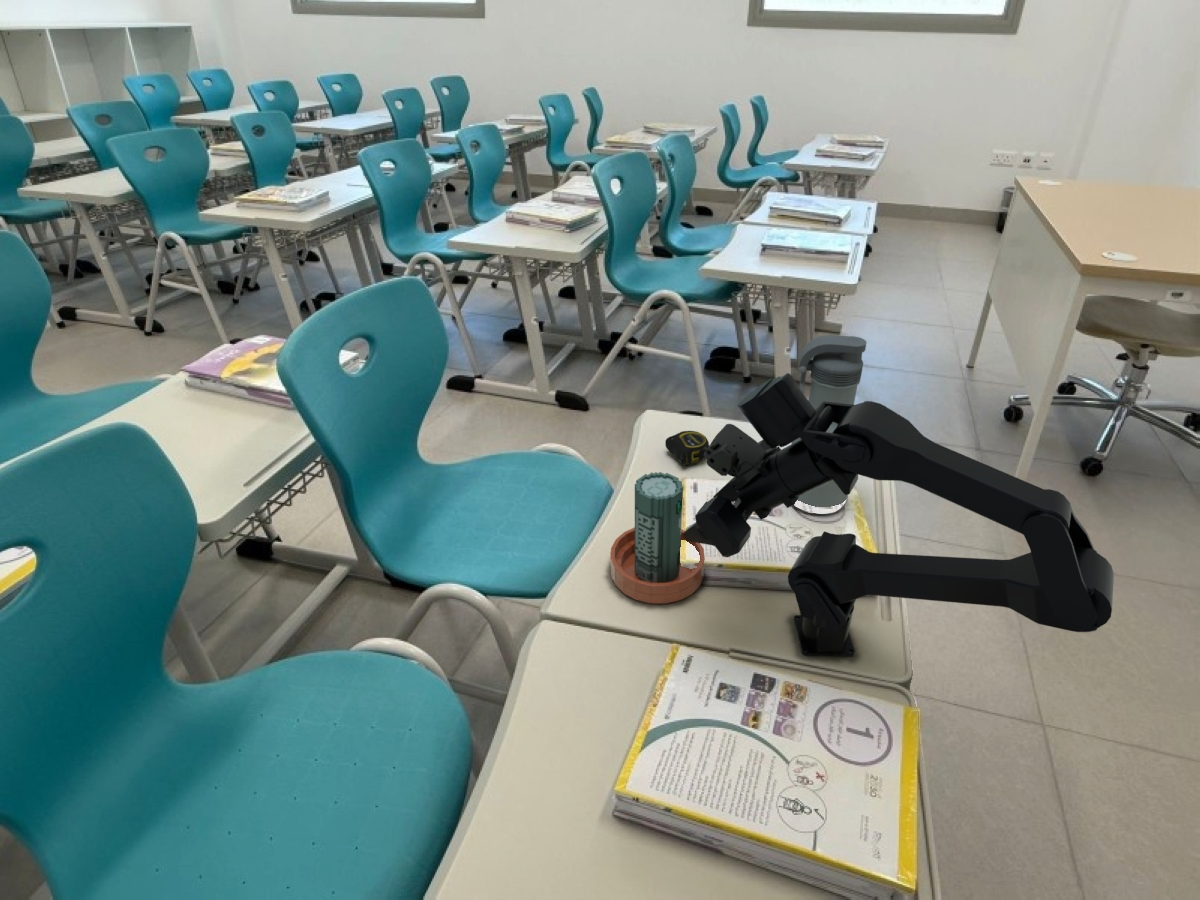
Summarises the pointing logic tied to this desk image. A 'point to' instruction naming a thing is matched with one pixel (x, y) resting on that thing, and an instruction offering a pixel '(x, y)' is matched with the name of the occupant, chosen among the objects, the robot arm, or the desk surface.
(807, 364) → the water bottle
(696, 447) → the tape measure
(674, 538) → the can
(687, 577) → the bowl
